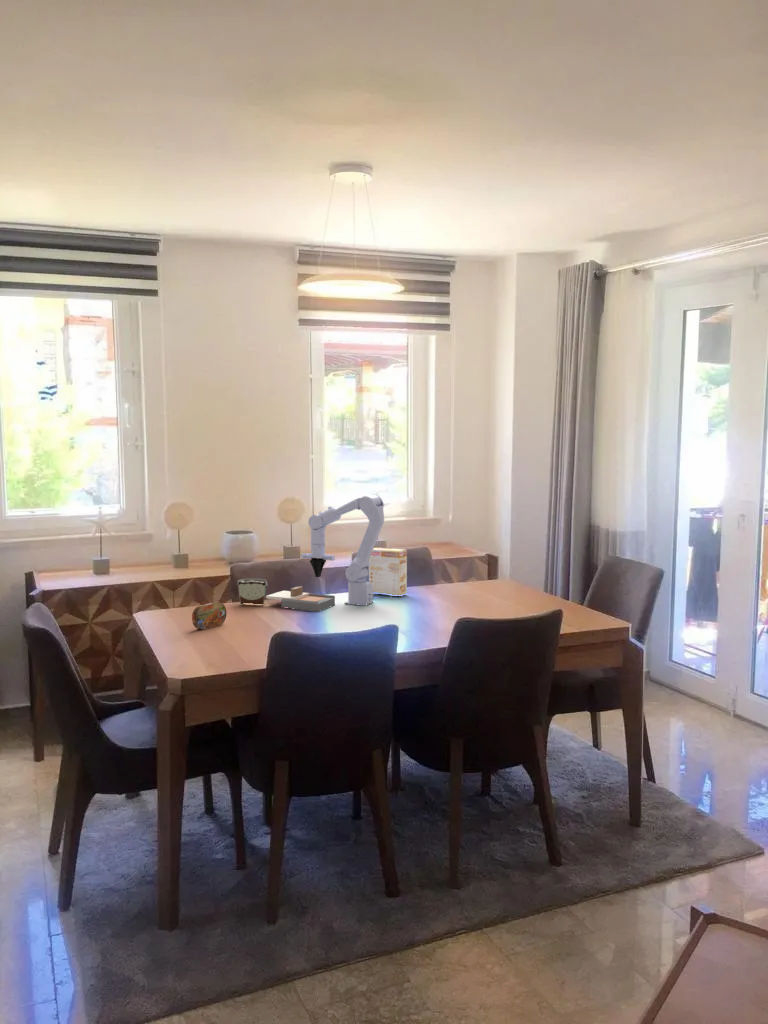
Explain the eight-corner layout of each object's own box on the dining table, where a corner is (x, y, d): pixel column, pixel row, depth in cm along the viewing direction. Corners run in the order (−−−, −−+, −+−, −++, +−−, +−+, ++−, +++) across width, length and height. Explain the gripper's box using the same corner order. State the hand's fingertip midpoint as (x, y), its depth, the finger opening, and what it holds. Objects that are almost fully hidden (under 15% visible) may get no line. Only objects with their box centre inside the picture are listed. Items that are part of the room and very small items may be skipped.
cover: (309, 595, 346) (309, 585, 346) (292, 600, 334) (292, 590, 334) (283, 593, 351) (283, 583, 351) (266, 598, 339) (266, 588, 339)
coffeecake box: (407, 595, 366) (407, 549, 364) (398, 597, 360) (399, 551, 358) (377, 591, 374) (377, 546, 372) (368, 594, 367) (368, 548, 366)
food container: (270, 603, 346) (270, 578, 345) (267, 606, 340) (267, 581, 339) (240, 602, 348) (240, 577, 347) (236, 605, 341) (236, 580, 341)
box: (334, 605, 342) (334, 595, 342) (317, 611, 330) (317, 601, 329) (299, 601, 349) (299, 592, 349) (281, 608, 336) (281, 598, 336)
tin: (197, 631, 295) (196, 607, 294) (190, 630, 297) (190, 606, 296) (227, 624, 308) (227, 600, 307) (220, 622, 309) (220, 599, 309)
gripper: (297, 543, 352) (297, 576, 353) (328, 545, 346) (328, 579, 347) (306, 542, 358) (306, 574, 359) (337, 544, 352) (337, 576, 353)
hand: (317, 576), depth 354 cm, fingers closed
